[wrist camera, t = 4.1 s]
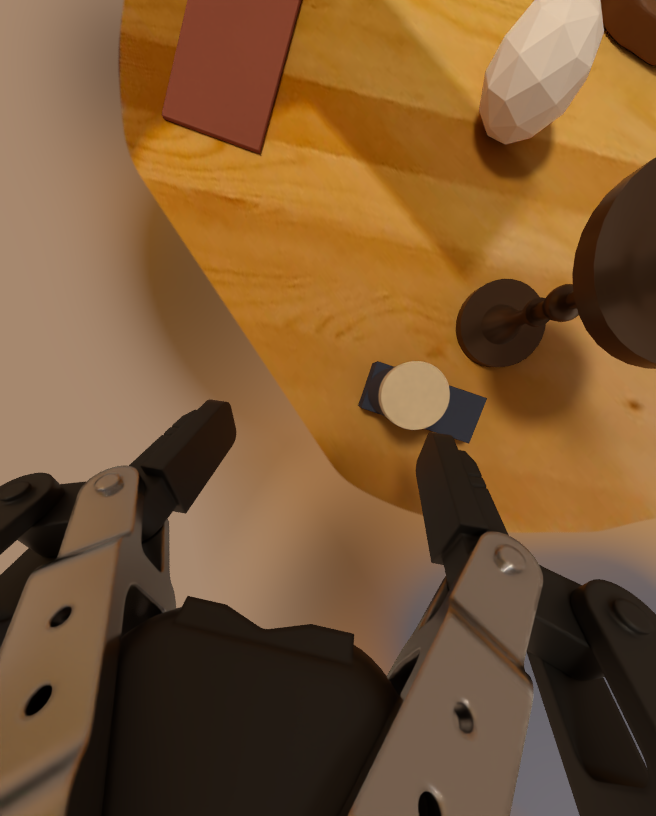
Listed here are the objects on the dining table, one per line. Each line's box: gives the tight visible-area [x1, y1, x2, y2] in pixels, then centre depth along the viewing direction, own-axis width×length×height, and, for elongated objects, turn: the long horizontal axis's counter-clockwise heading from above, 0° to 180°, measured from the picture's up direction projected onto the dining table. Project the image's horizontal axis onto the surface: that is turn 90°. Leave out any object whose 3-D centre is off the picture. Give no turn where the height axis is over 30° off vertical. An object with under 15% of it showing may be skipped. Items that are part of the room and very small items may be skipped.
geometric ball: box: [479, 0, 604, 145], centre depth 20 cm, size 8×8×8 cm
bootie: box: [358, 361, 487, 443], centre depth 23 cm, size 12×5×9 cm, turn 72°
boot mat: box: [162, 0, 301, 154], centre depth 23 cm, size 16×10×1 cm, turn 162°
